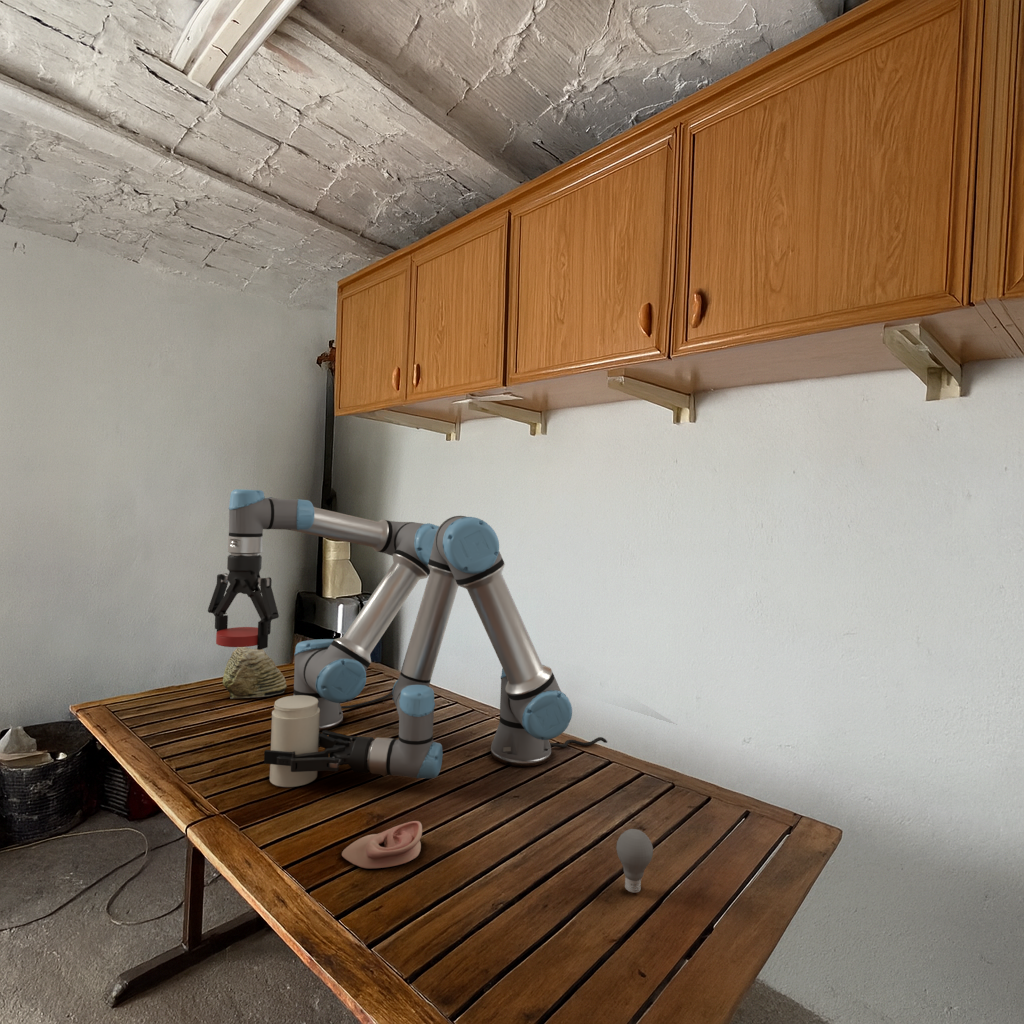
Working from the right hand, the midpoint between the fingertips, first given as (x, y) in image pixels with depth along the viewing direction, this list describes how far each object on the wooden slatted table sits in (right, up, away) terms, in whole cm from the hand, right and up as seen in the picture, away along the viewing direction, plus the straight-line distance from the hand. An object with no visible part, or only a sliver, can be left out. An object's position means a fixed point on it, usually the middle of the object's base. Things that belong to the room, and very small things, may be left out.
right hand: (276, 747), depth 143 cm
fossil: (-28, -4, +55) cm, 62 cm away
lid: (-11, +24, +8) cm, 28 cm away
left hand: (-11, +21, +8) cm, 25 cm away
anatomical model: (+30, -8, -29) cm, 42 cm away
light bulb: (+73, -10, -37) cm, 83 cm away
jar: (+4, -7, 0) cm, 8 cm away
